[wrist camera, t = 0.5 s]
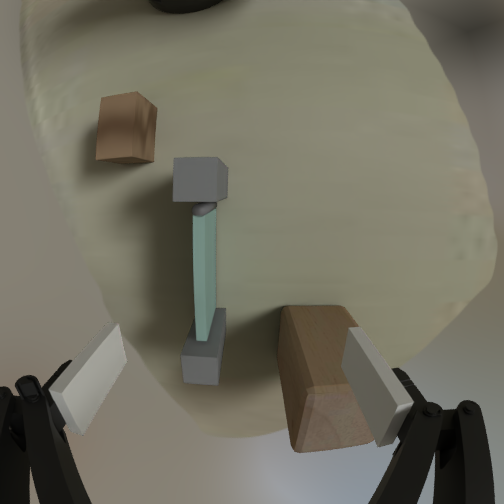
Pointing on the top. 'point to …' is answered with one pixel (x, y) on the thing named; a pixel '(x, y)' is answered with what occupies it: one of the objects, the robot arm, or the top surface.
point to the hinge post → (199, 179)
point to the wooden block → (318, 380)
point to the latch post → (205, 352)
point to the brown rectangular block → (126, 129)
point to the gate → (204, 266)
